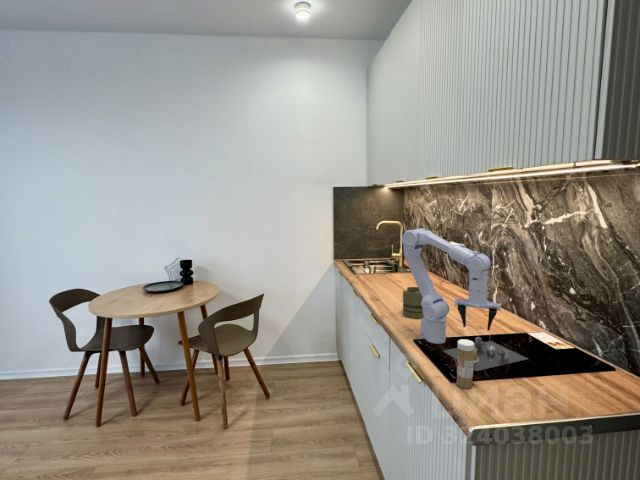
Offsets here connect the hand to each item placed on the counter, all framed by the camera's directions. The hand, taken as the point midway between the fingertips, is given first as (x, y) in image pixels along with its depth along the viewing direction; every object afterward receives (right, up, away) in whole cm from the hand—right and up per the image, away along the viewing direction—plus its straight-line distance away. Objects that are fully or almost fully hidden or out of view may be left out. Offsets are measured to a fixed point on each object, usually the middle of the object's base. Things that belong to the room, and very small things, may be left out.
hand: (476, 327), depth 127 cm
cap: (-5, -9, -4) cm, 11 cm away
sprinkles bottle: (-12, -13, -19) cm, 26 cm away
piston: (-10, -5, +43) cm, 44 cm away
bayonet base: (+2, -10, -1) cm, 10 cm away
